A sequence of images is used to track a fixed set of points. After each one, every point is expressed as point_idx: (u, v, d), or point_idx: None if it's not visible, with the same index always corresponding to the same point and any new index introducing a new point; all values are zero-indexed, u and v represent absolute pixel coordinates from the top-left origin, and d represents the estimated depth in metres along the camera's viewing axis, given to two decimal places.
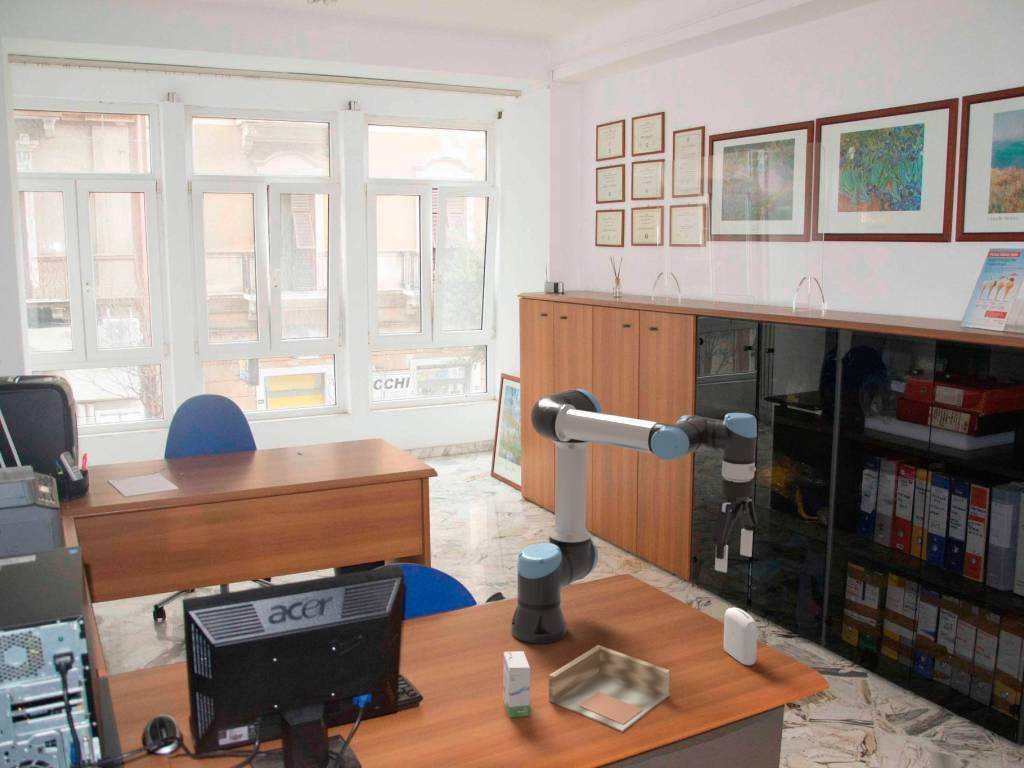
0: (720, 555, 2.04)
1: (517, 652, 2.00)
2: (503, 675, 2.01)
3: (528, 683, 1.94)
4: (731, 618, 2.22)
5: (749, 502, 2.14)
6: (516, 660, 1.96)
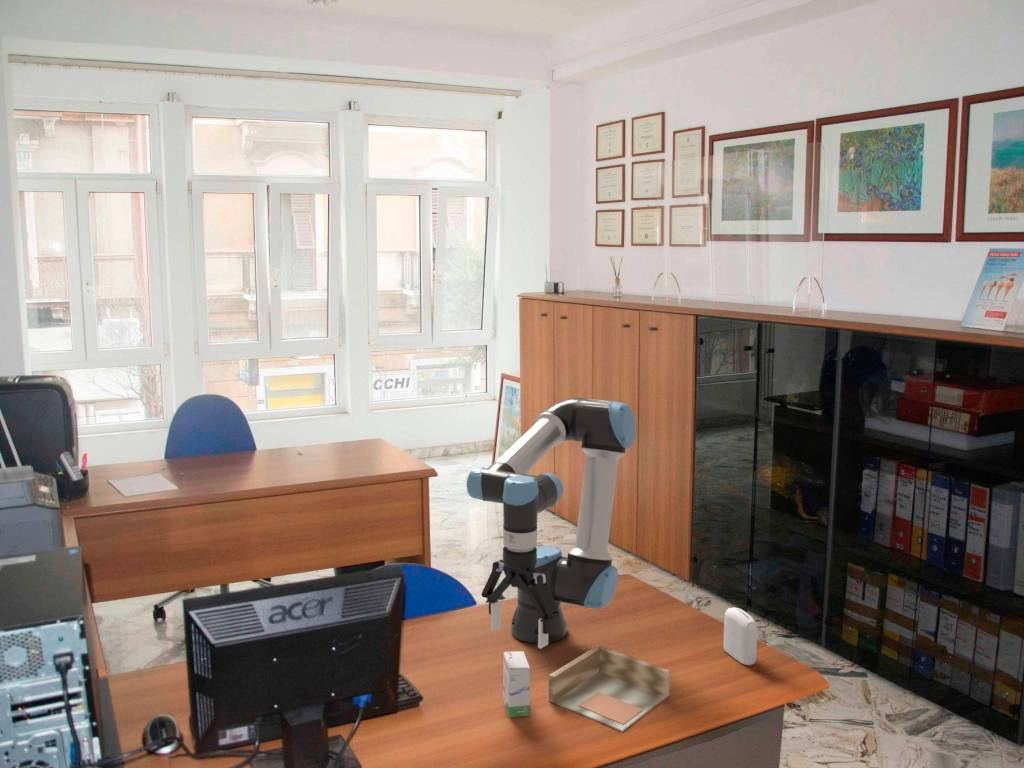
0: None
1: (517, 652, 2.00)
2: (503, 675, 2.01)
3: (528, 683, 1.94)
4: (731, 618, 2.22)
5: None
6: (516, 660, 1.96)
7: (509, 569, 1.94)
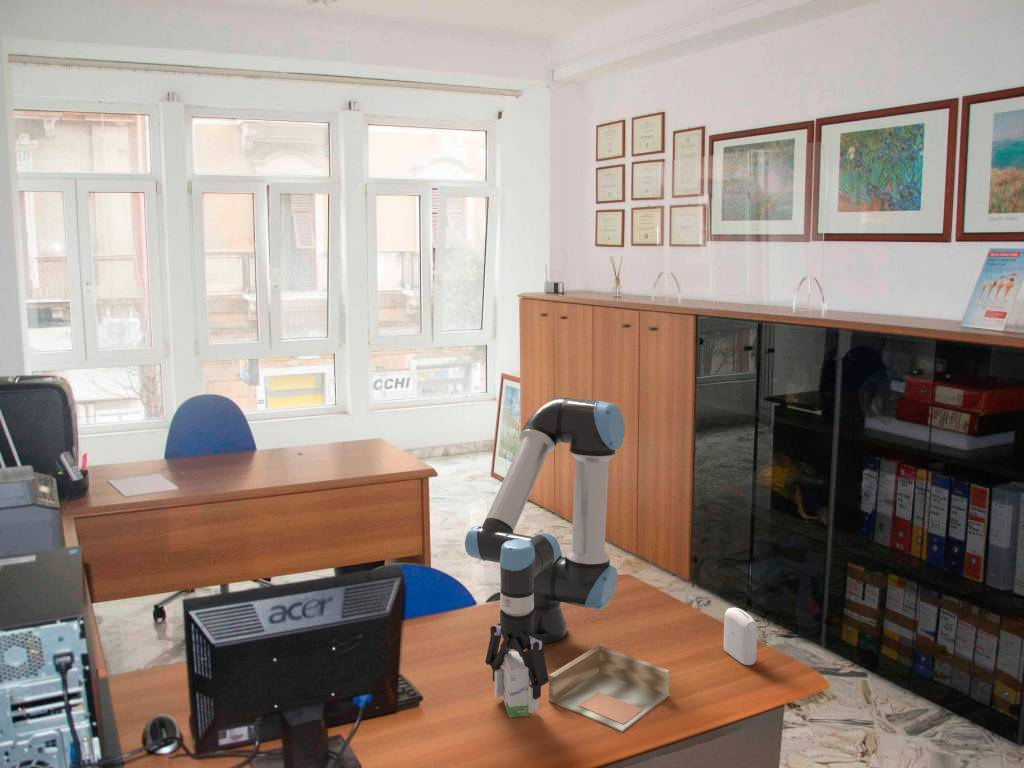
0: None
1: (517, 652, 2.00)
2: (503, 675, 2.01)
3: (528, 683, 1.94)
4: (731, 618, 2.22)
5: None
6: (516, 660, 1.96)
7: (506, 630, 1.96)
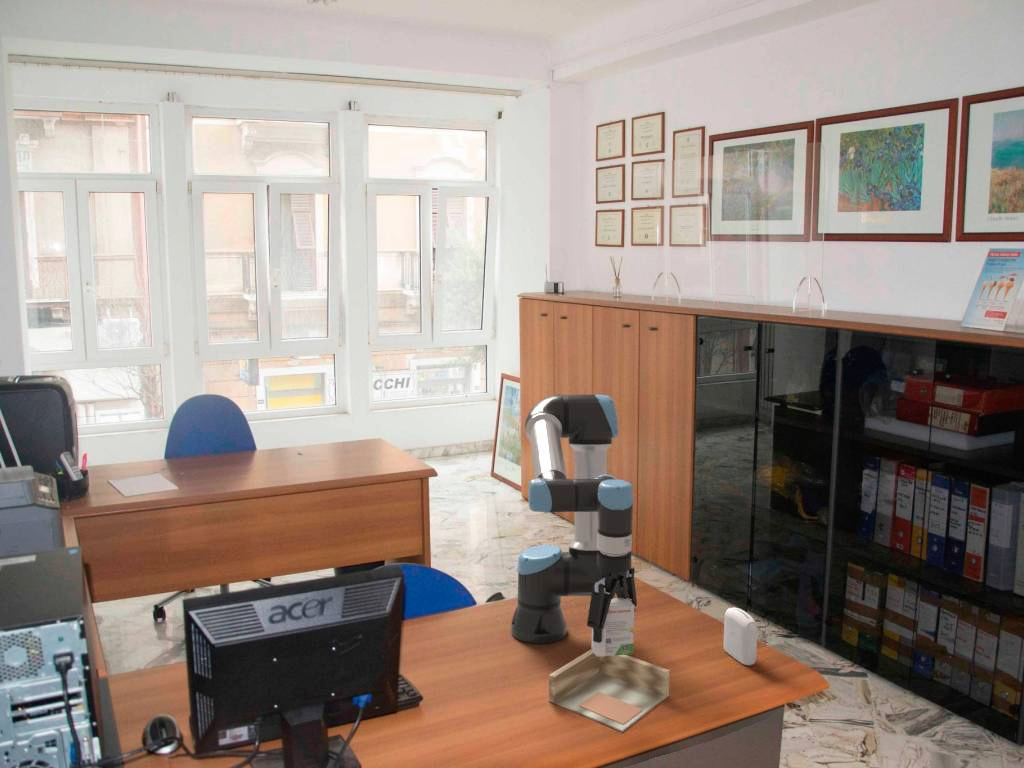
0: (597, 638, 1.89)
1: None
2: None
3: None
4: (731, 618, 2.22)
5: (629, 578, 1.97)
6: (615, 601, 1.94)
7: (612, 577, 1.90)
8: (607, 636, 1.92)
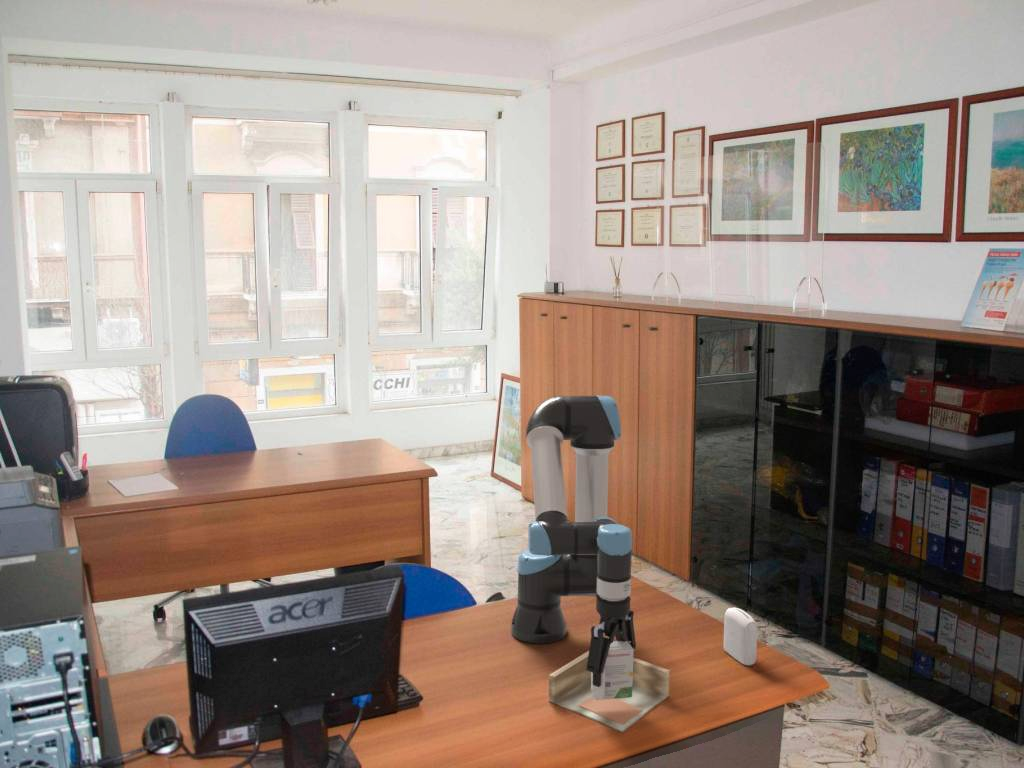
0: (596, 683, 1.91)
1: None
2: None
3: None
4: (731, 618, 2.22)
5: (628, 621, 1.98)
6: (614, 645, 1.95)
7: (611, 621, 1.92)
8: (606, 680, 1.94)
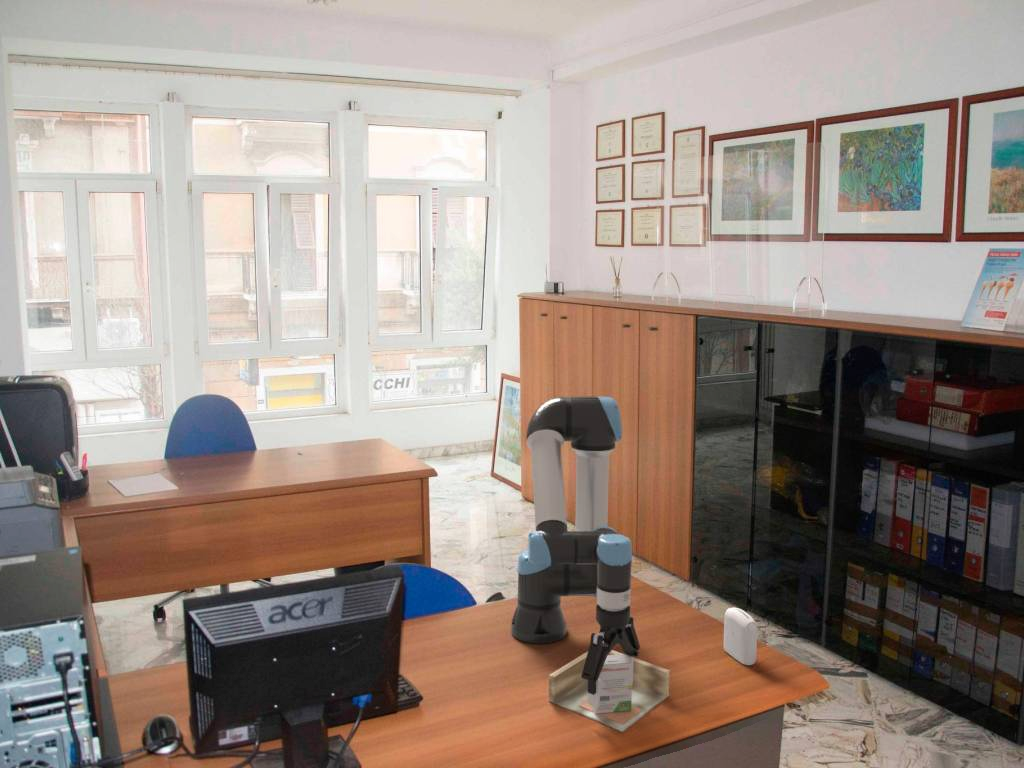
0: (591, 690, 1.90)
1: None
2: None
3: None
4: (731, 618, 2.22)
5: (629, 627, 1.99)
6: (613, 659, 1.96)
7: (611, 632, 1.92)
8: (605, 693, 1.94)
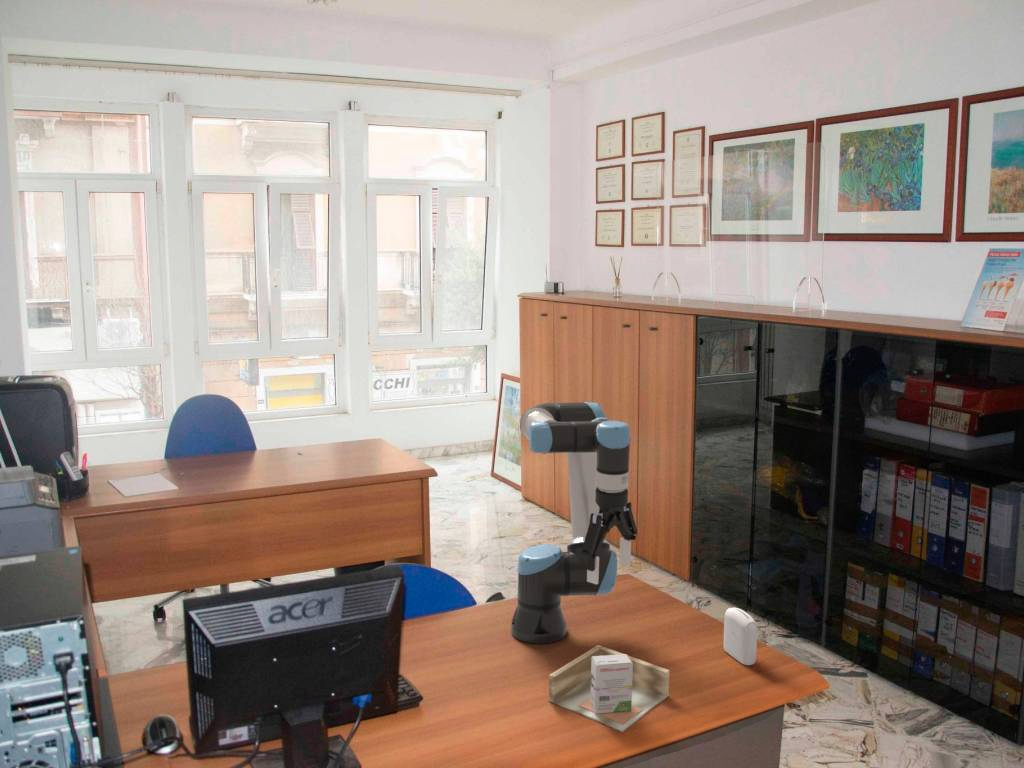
0: (590, 567, 2.00)
1: (596, 658, 1.96)
2: (598, 688, 1.94)
3: None
4: (731, 618, 2.22)
5: (626, 511, 2.09)
6: (613, 659, 1.96)
7: (610, 513, 2.02)
8: (605, 693, 1.94)
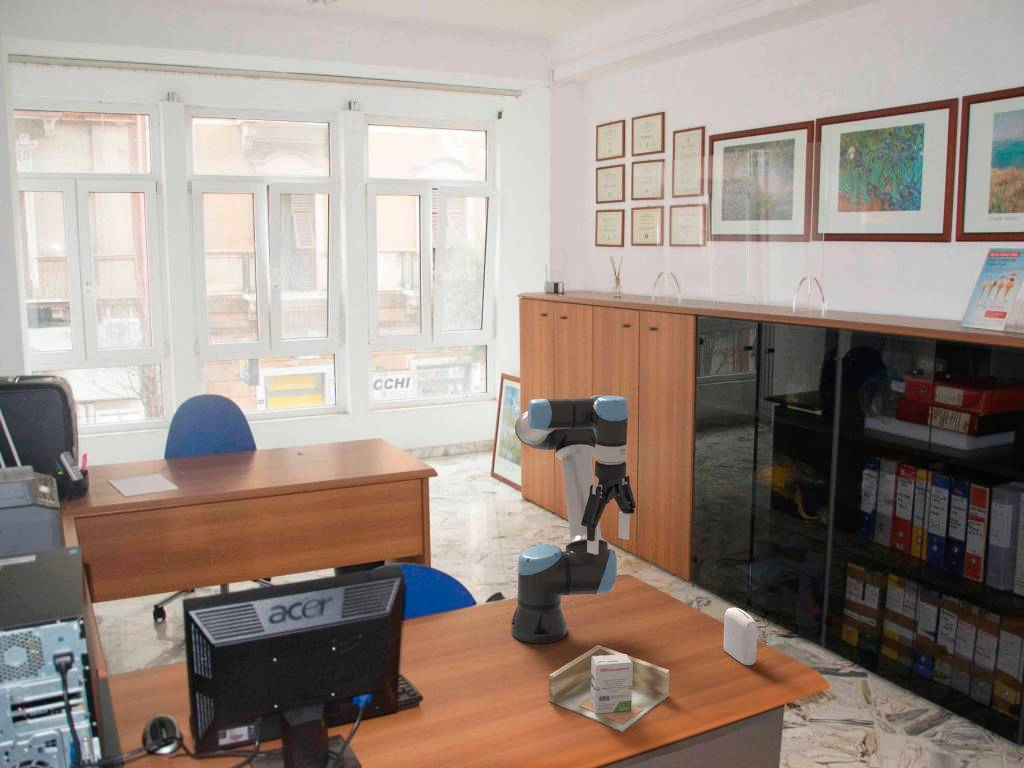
0: (590, 537, 2.05)
1: (596, 658, 1.96)
2: (598, 688, 1.94)
3: None
4: (731, 618, 2.22)
5: (625, 485, 2.14)
6: (613, 659, 1.96)
7: (609, 485, 2.08)
8: (605, 693, 1.94)
